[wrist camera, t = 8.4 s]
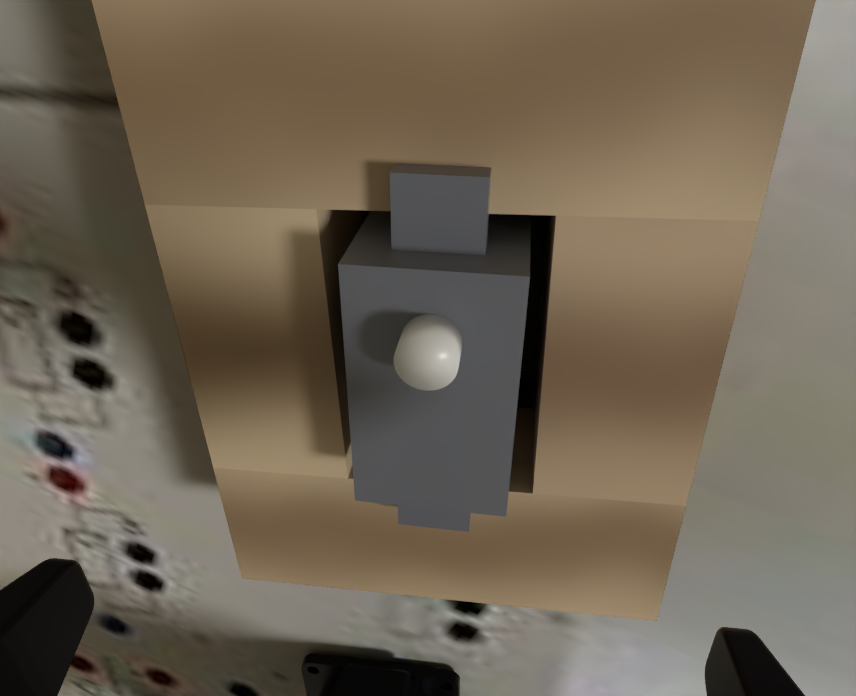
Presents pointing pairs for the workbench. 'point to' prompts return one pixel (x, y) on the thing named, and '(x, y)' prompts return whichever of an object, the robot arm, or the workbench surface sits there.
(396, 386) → the servo
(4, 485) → the workbench surface
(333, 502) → the tan flat block
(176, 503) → the workbench surface
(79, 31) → the workbench surface
